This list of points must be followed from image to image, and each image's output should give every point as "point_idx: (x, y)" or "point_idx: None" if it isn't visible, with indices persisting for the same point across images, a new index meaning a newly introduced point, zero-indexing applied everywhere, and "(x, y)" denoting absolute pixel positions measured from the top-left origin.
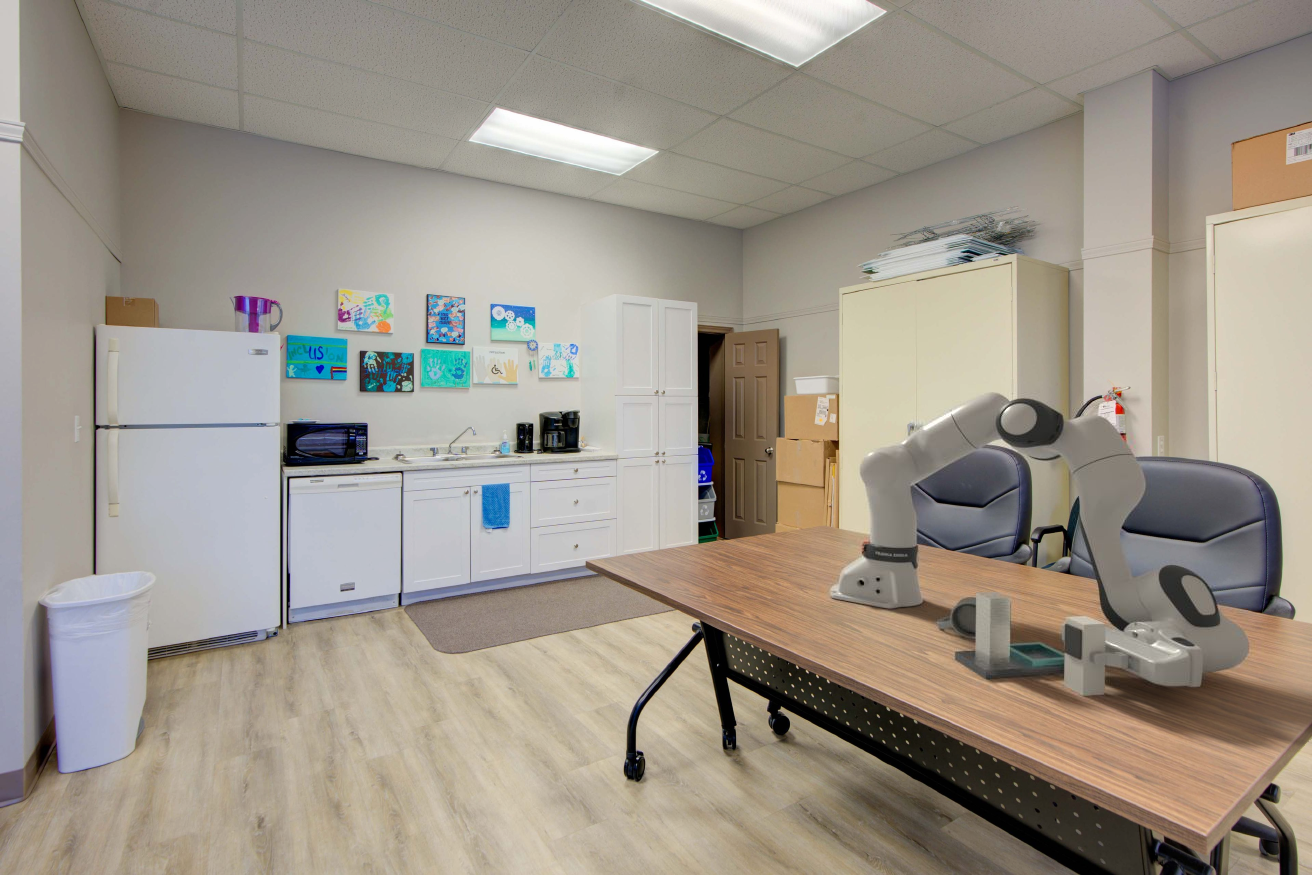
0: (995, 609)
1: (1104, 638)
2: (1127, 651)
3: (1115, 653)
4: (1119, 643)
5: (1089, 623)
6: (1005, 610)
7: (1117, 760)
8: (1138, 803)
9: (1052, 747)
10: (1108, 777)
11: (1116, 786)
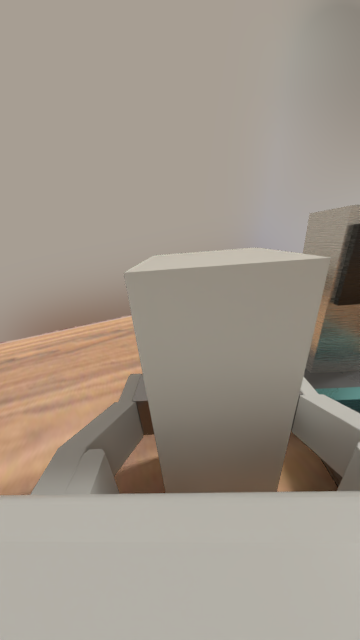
0: (312, 241)
1: (144, 369)
2: (19, 497)
3: (99, 451)
4: (140, 607)
5: (159, 258)
6: (330, 246)
7: (36, 362)
8: (8, 342)
9: (91, 336)
10: (36, 344)
11: (28, 342)
